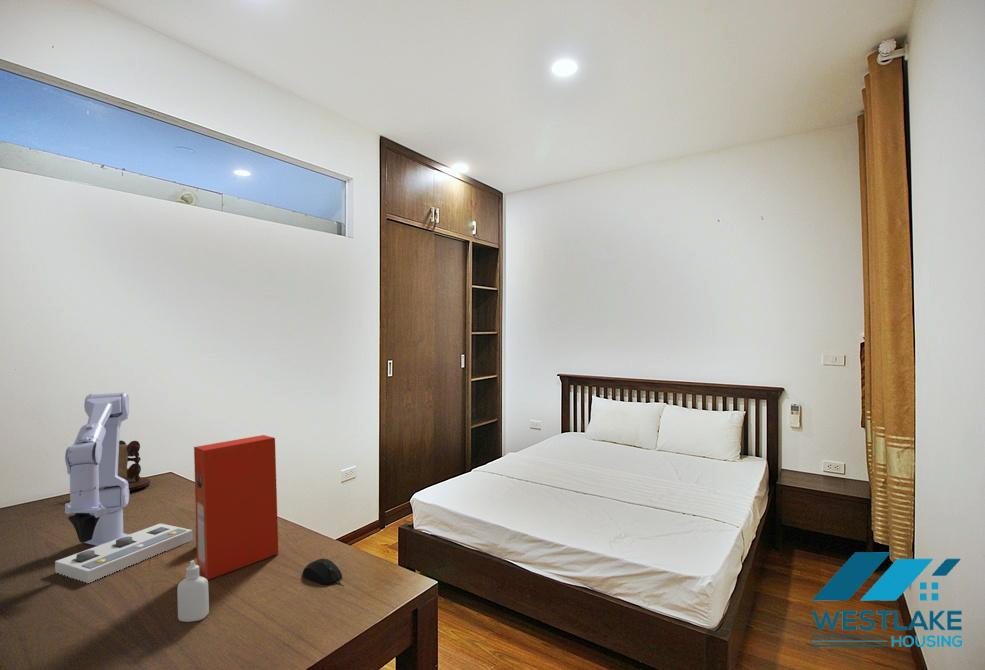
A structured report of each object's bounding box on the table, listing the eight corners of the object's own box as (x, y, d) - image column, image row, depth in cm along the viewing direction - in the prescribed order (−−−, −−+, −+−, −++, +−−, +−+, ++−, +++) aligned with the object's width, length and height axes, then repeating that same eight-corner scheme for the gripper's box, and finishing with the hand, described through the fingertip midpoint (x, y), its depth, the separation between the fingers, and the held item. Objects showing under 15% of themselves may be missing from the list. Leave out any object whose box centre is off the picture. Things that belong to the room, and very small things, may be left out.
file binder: (197, 570, 120) (193, 446, 120) (265, 546, 133) (262, 434, 133) (208, 580, 115) (205, 450, 115) (278, 554, 128) (275, 438, 128)
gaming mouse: (332, 594, 108) (332, 576, 108) (297, 575, 117) (297, 559, 117) (355, 582, 113) (354, 565, 113) (320, 565, 122) (319, 550, 122)
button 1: (73, 562, 121) (73, 555, 121) (90, 556, 125) (89, 549, 125) (81, 565, 120) (81, 557, 120) (97, 558, 123) (97, 551, 123)
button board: (55, 572, 121) (55, 560, 121) (160, 533, 145) (160, 522, 145) (88, 583, 115) (88, 570, 115) (192, 540, 139) (192, 529, 139)
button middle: (113, 548, 130) (112, 540, 130) (127, 542, 133) (127, 535, 133) (120, 550, 128) (120, 542, 128) (135, 544, 132) (135, 537, 132)
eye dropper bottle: (196, 608, 103) (195, 554, 103) (211, 615, 100) (210, 559, 100) (175, 619, 99) (173, 562, 99) (190, 626, 96) (189, 568, 96)
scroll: (94, 495, 183) (92, 444, 183) (129, 483, 198) (128, 436, 198) (126, 496, 181) (124, 445, 181) (159, 484, 195) (158, 436, 195)
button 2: (147, 539, 138) (147, 532, 138) (160, 534, 141) (160, 527, 141) (155, 540, 136) (155, 534, 136) (168, 535, 140) (168, 529, 140)
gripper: (50, 490, 122) (51, 542, 122) (82, 496, 116) (83, 551, 116) (82, 482, 128) (83, 532, 128) (114, 488, 122) (115, 539, 122)
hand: (85, 540), depth 122 cm, fingers closed
